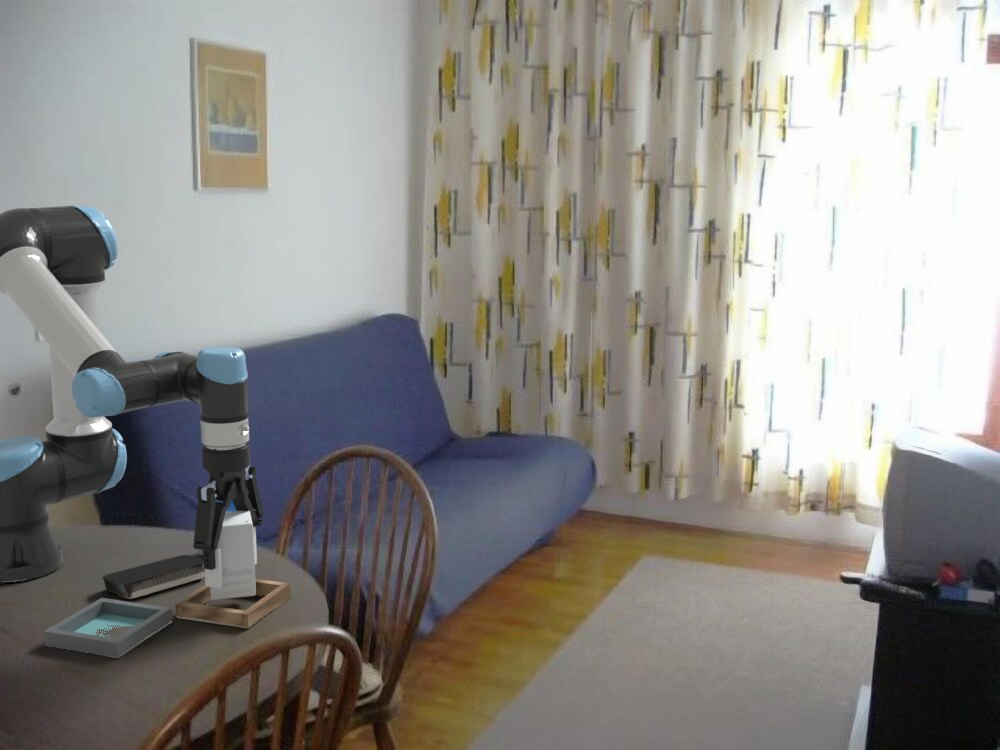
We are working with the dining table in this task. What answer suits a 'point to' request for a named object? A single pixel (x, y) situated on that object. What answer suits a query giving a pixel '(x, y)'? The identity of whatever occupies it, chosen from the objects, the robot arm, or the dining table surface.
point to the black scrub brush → (155, 576)
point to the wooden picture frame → (195, 609)
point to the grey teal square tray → (97, 615)
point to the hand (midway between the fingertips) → (231, 574)
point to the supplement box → (236, 557)
